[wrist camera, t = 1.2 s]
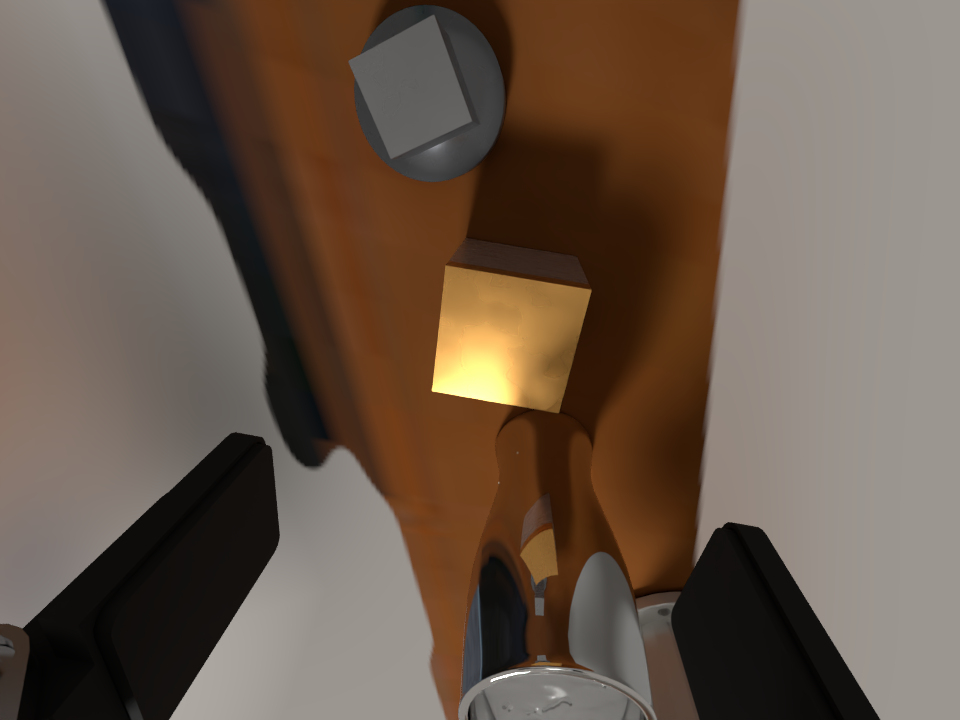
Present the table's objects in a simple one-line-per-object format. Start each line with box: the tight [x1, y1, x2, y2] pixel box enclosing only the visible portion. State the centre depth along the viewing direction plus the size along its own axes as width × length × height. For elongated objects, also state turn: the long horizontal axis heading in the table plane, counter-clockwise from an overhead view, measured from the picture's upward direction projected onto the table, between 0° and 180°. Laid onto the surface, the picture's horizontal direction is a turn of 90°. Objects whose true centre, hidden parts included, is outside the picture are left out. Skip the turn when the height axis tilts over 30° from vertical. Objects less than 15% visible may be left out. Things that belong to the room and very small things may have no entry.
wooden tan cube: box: [432, 238, 592, 413], centre depth 21 cm, size 6×6×6 cm
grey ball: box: [348, 5, 506, 182], centre depth 18 cm, size 6×6×5 cm
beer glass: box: [458, 410, 657, 720], centre depth 21 cm, size 7×7×15 cm
